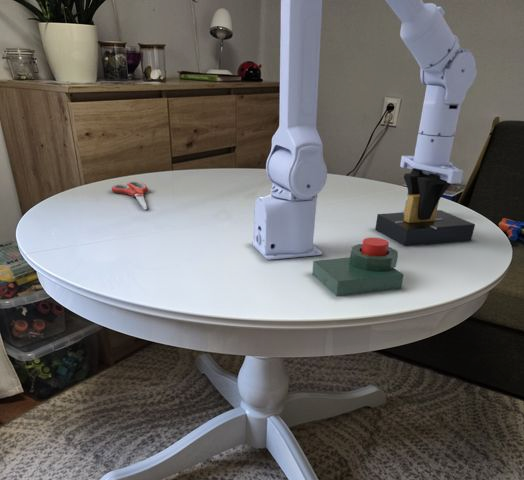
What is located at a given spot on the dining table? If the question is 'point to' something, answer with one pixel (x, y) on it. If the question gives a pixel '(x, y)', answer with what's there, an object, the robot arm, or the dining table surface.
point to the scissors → (133, 191)
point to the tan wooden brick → (416, 210)
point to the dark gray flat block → (425, 229)
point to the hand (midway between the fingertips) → (419, 217)
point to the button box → (359, 273)
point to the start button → (375, 247)
